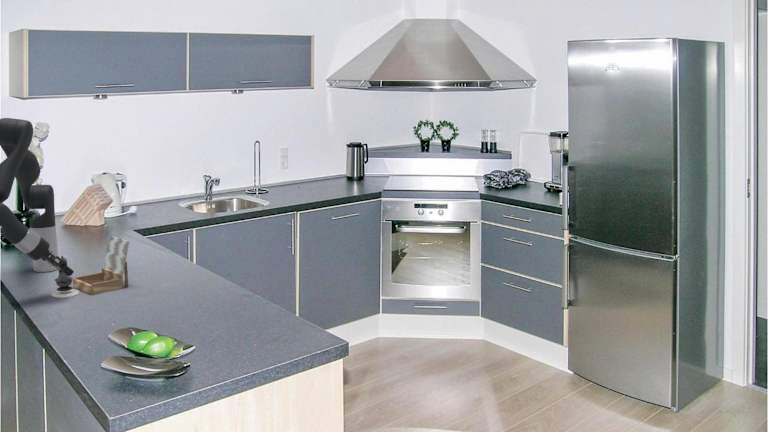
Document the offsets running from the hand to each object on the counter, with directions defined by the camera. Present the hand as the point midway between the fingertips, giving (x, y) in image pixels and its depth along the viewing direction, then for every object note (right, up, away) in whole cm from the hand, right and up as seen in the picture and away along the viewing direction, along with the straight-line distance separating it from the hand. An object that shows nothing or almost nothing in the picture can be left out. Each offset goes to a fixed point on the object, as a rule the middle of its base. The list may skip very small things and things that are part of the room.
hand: (69, 272), depth 286 cm
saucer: (-1, -8, 0) cm, 8 cm away
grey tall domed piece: (-1, -6, 0) cm, 6 cm away
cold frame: (+8, -6, +9) cm, 14 cm away
